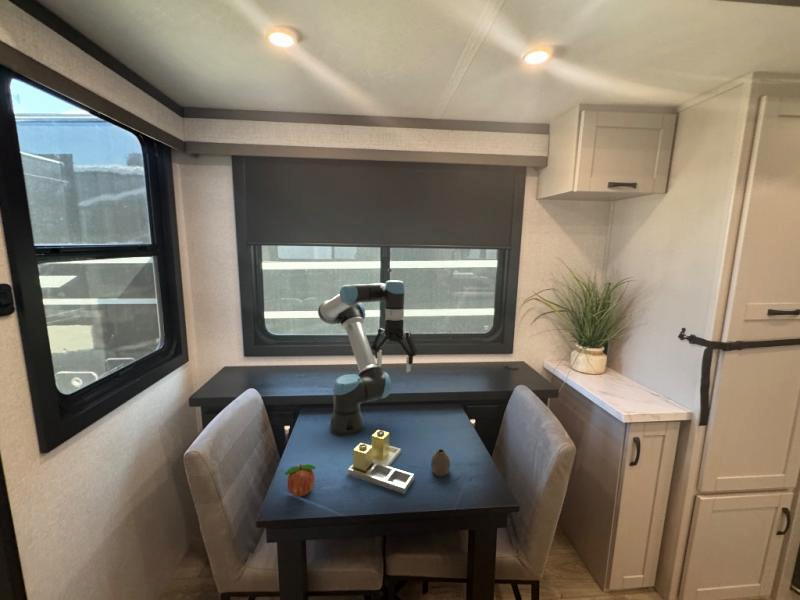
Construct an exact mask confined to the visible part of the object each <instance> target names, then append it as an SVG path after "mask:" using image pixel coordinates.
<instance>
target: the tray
mask: <svg viewBox="0 0 800 600" xmlns="http://www.w3.org/2000/svg"><path fill="white" fill-rule="evenodd" d="M369 445H370V446H372V443H371V444H369ZM401 453H402V449H401V448H399V447H397V446H396V447H395V446H392V445H389V455H388V456H387V457H386V458H385V459H384V461H381V460H378V459H375V458H372V461H373V462H376V463H380V464H383V465H386V466H389V467H391V465H392V464H393V462H394V461H396V459H397V457H398V456H399V455H400V454H401Z"/></svg>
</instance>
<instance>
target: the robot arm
mask: <svg viewBox="0 0 800 600" xmlns="http://www.w3.org/2000/svg"><path fill="white" fill-rule="evenodd" d="M374 302H375V303H377V302H384V304H385V305H384V306H385V311H384V312H385V315H384V317H385V319H384V327H380V328H378V330H377V335H376V337H375V339H374V341H373V343H372V345H371V346H370V342H369V340H368V337H367V335H366V331H365V328H364V325H363V324H364V322H365V321H364V320H365V318H366V309H365V306H364V304H363V303H374ZM404 307H405V283H404V281H403V280H397V279H395V280H394V279H393V280H392V279H391V280H386V281H385V283H383V282H375V283H364V284H362V283H361V284H351V283H349V284H344V285H341V287H340V290H339V294H337V295H336V296H334V297H333V298H332V299H329V300H324V301H323V302H322V303H320V305H319V307H318V309H317V315H318V317H319V318H320V320H321V321H323V323H325V324H328V325H329V324H330V325H336V324H337V325H339V324H340V325H341V328H342V330H343V329H344V330H345V331H346V333H347V338H348V340H349V342H350V346H351V349H352V353H353V356H354V358H355V361H356V365H357V368H358V371H359V372H358V374H356V373H352V374H351V373H348V374H344V375H341V376H339V377H337V378H335V380H334V382H333V389H332V394H333V413H332V415H331V419H330V423H329V431H330V432H331V433H332V434H334V435H336V436H340V437H344V436H353V435H357V434H359V433H361V432H362V431H363V430H364V427H365V425H364V424H365V421H364V419H363V416H362V415H363V414H362V412H361V404H363V403H368V402H373V401H376V400H378V401H379V400H381V399H385V398H387V397H388V396H389V395H390V393H391V387H392V384H391V377H390V375H389V373H388V372H386V371H383V369H382V363H383V362H382V361H383V360H382V359H383V353H382V352H383V351H382V348H383V347H384V346H385V344H387V342H388V341H390V342H395V343H396V342H398V344H399V345H400V346H401V348H403V350H404V352H405V353H406V355H407V356H406V362H405V364H406V367H405V368H406V370H405V372H406V373H410V372H411V369H412V364H413V362H414V357H415V356H417V355H418V351H417V348H416V345H415V343H414V341H413V338H412V335H411V334H412V333H411V331H409V330H408V331H404V323H405V322H404V321H405V320H404V318H405V316H404V315H405V313H404V312H405V308H404ZM384 328H385V329H384ZM383 334H385V337H384V338H383V340H381V339H382V337H383ZM403 336H404V337H403ZM405 340H406V341H405ZM380 341H381V342H380ZM372 350H374V352H375V355H374V354H373V351H372ZM374 356H375V357H374ZM375 359H376V360H375Z"/></svg>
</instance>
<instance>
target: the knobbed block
mask: <svg viewBox="0 0 800 600" xmlns="http://www.w3.org/2000/svg"><path fill="white" fill-rule="evenodd" d="M371 444H372V446H373V456H372V458H375V459H378V460H381V461H384V459H385V458H386V457H387V456H388V455H389V446H390V432H388V431H385V430H380V429H377V430H376V431H374V433H372V435H371Z"/></svg>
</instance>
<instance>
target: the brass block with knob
mask: <svg viewBox="0 0 800 600" xmlns="http://www.w3.org/2000/svg"><path fill="white" fill-rule="evenodd" d="M370 445H371V444H367V443H364V442H363V443H362V442H360V443H359V444H357V445H356V447H354V448H353V452H352V465H353V469H354V470H357V471H360V472H363V473H367V472H368V471H369V470H370V468H371V467H372V456H373V446H370Z"/></svg>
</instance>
